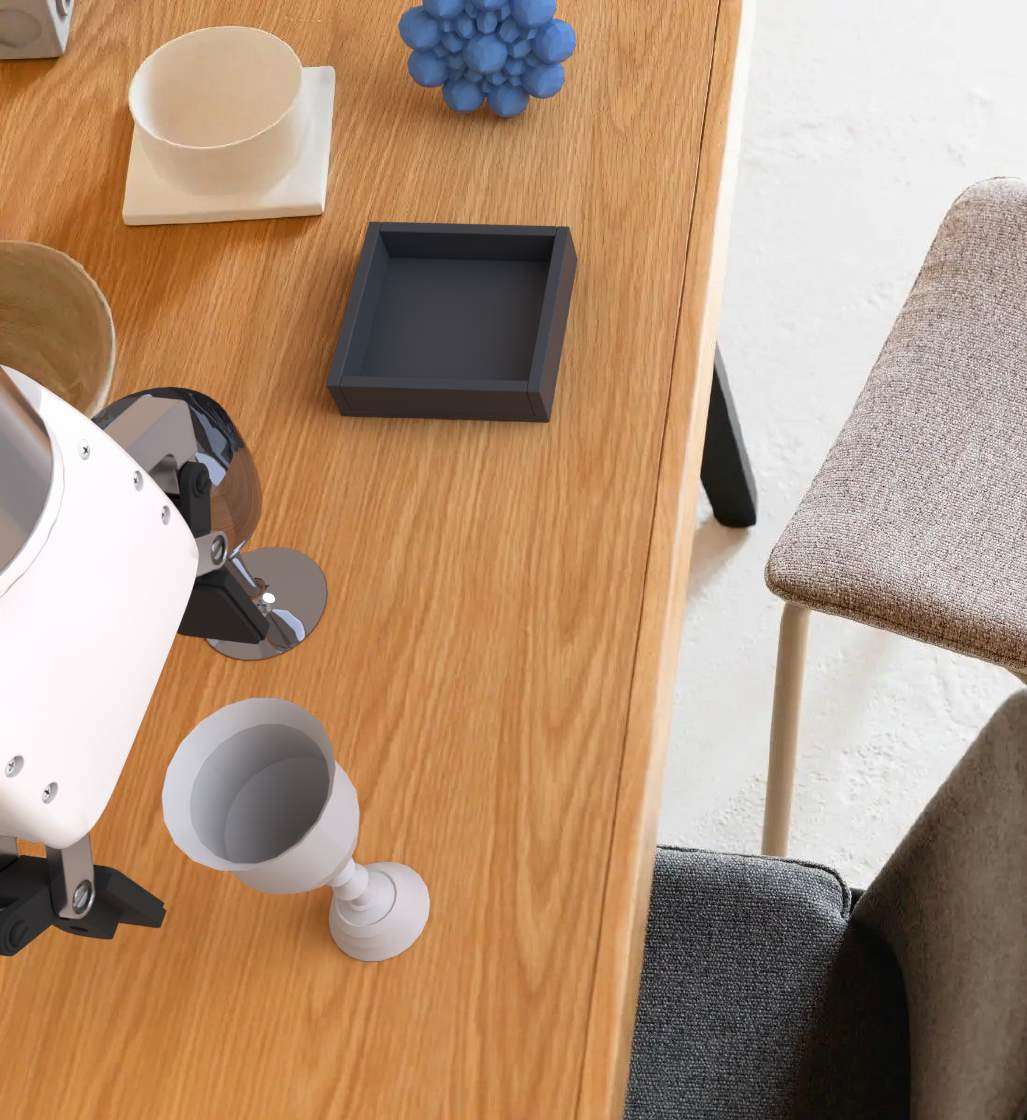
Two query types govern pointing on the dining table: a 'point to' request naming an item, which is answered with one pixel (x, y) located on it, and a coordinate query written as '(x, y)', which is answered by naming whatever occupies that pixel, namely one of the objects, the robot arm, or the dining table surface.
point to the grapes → (488, 51)
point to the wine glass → (244, 529)
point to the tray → (455, 322)
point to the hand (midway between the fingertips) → (174, 764)
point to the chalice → (287, 822)
